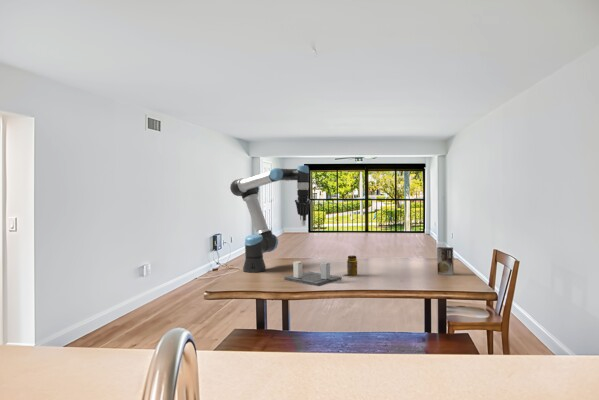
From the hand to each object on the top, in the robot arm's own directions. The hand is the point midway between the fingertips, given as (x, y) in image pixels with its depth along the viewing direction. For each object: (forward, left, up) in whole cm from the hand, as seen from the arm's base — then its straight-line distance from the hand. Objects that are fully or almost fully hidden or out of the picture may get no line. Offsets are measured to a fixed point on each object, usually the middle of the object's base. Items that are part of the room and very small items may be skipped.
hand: (303, 225), depth 279 cm
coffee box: (+74, +49, -30) cm, 93 cm away
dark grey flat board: (+22, -15, -30) cm, 40 cm away
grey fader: (+31, -14, -28) cm, 44 cm away
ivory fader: (+16, -22, -28) cm, 39 cm away
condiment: (+32, +9, -30) cm, 45 cm away
